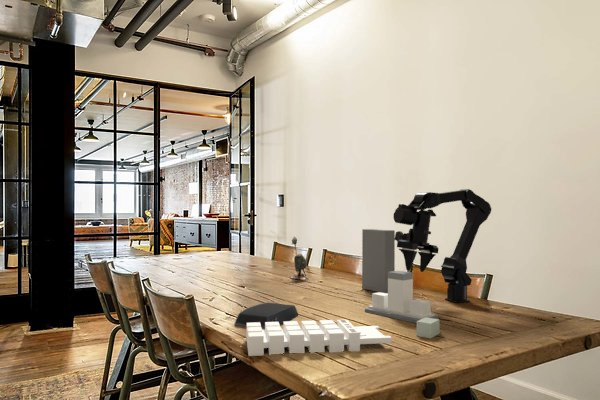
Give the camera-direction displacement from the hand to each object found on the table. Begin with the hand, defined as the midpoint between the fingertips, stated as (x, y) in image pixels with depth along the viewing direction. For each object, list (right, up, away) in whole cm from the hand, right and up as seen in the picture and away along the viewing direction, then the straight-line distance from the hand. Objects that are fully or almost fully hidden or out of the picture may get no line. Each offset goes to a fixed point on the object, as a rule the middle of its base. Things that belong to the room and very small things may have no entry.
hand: (414, 271), depth 167 cm
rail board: (-8, -12, -16) cm, 21 cm away
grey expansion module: (-8, -10, -16) cm, 21 cm away
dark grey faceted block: (-50, -12, -23) cm, 57 cm away
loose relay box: (-6, -12, -39) cm, 41 cm away
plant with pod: (-41, -13, +58) cm, 72 cm away
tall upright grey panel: (-8, -12, +27) cm, 31 cm away
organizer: (-36, -12, -48) cm, 61 cm away
